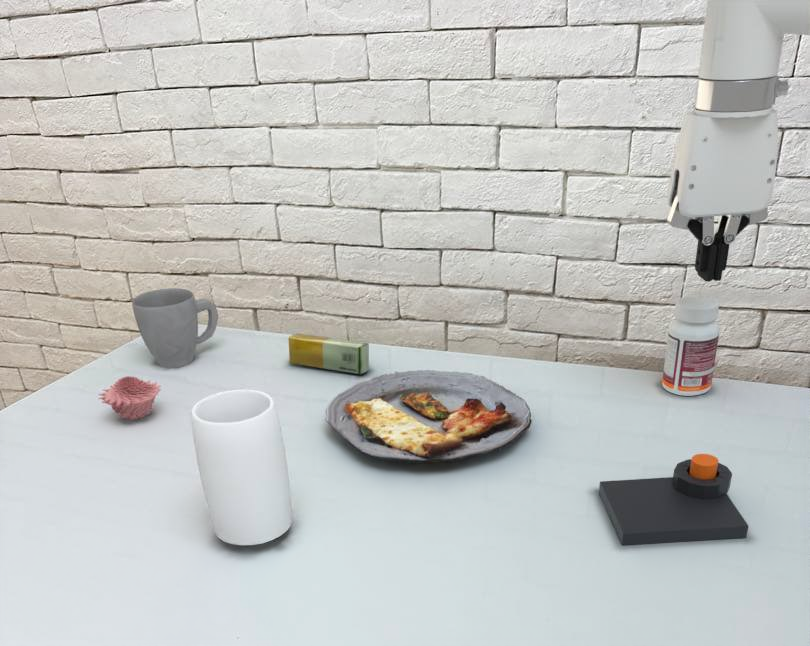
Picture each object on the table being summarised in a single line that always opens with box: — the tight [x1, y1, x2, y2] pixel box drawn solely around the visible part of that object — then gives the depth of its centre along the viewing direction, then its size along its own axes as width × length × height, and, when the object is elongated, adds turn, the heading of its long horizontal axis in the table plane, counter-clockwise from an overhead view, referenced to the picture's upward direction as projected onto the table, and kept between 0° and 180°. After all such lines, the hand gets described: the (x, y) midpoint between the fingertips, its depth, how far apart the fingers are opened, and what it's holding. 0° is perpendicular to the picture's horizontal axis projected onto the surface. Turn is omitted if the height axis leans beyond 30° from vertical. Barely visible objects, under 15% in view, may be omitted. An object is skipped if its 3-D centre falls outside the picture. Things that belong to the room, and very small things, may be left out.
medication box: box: [288, 332, 370, 376], centre depth 121 cm, size 12×3×4 cm, turn 65°
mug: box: [131, 287, 219, 369], centre depth 126 cm, size 12×9×10 cm
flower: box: [98, 375, 162, 421], centre depth 110 cm, size 8×8×6 cm
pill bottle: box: [661, 295, 721, 397], centre depth 108 cm, size 6×6×11 cm
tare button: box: [689, 453, 719, 480], centre depth 87 cm, size 3×3×2 cm
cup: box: [190, 389, 293, 546], centre depth 83 cm, size 8×8×14 cm
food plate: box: [324, 369, 532, 464], centre depth 104 cm, size 25×23×4 cm
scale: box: [598, 458, 749, 546], centre depth 86 cm, size 13×11×3 cm
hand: (708, 277), depth 97 cm, fingers closed
